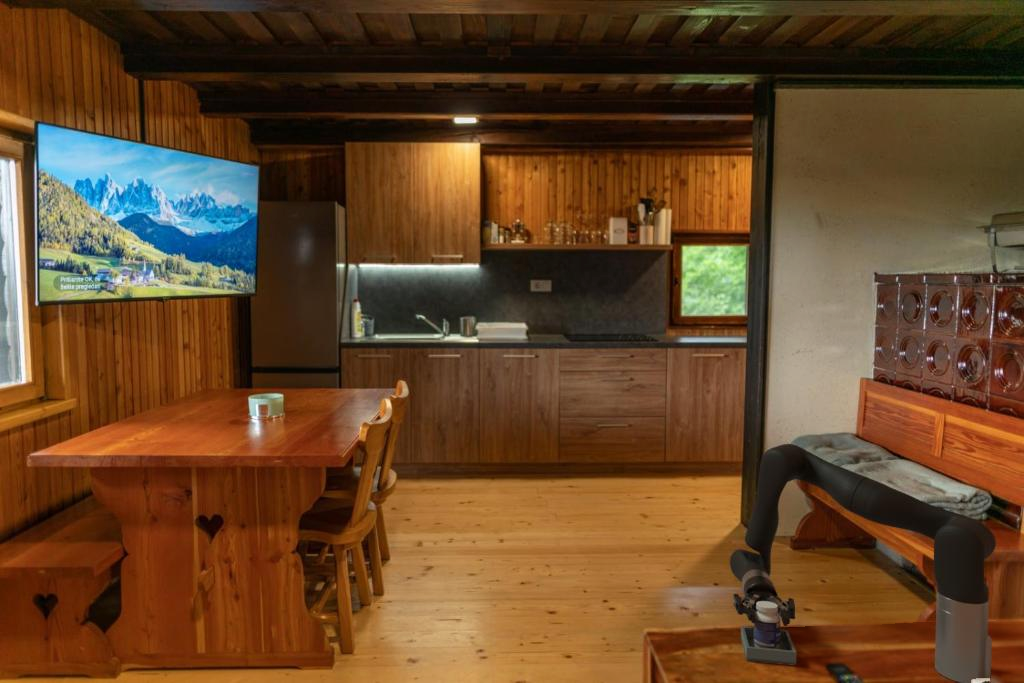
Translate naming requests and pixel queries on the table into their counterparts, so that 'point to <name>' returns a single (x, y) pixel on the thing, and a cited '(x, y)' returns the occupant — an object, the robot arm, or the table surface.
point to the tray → (768, 655)
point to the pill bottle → (767, 626)
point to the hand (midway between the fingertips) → (769, 620)
